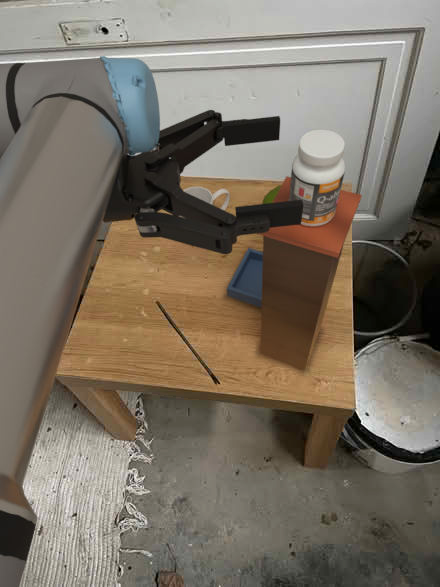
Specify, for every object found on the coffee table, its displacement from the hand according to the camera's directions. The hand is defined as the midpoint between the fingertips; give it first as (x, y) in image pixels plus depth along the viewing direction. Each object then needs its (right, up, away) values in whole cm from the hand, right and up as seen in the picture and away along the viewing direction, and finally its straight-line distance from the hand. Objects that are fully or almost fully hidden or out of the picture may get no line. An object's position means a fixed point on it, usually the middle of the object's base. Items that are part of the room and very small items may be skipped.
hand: (289, 166), depth 45 cm
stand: (+6, -23, +36) cm, 44 cm away
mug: (-10, +2, +54) cm, 55 cm away
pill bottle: (+4, -4, +7) cm, 8 cm away
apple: (+8, +1, +52) cm, 53 cm away
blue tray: (+2, -12, +44) cm, 46 cm away
